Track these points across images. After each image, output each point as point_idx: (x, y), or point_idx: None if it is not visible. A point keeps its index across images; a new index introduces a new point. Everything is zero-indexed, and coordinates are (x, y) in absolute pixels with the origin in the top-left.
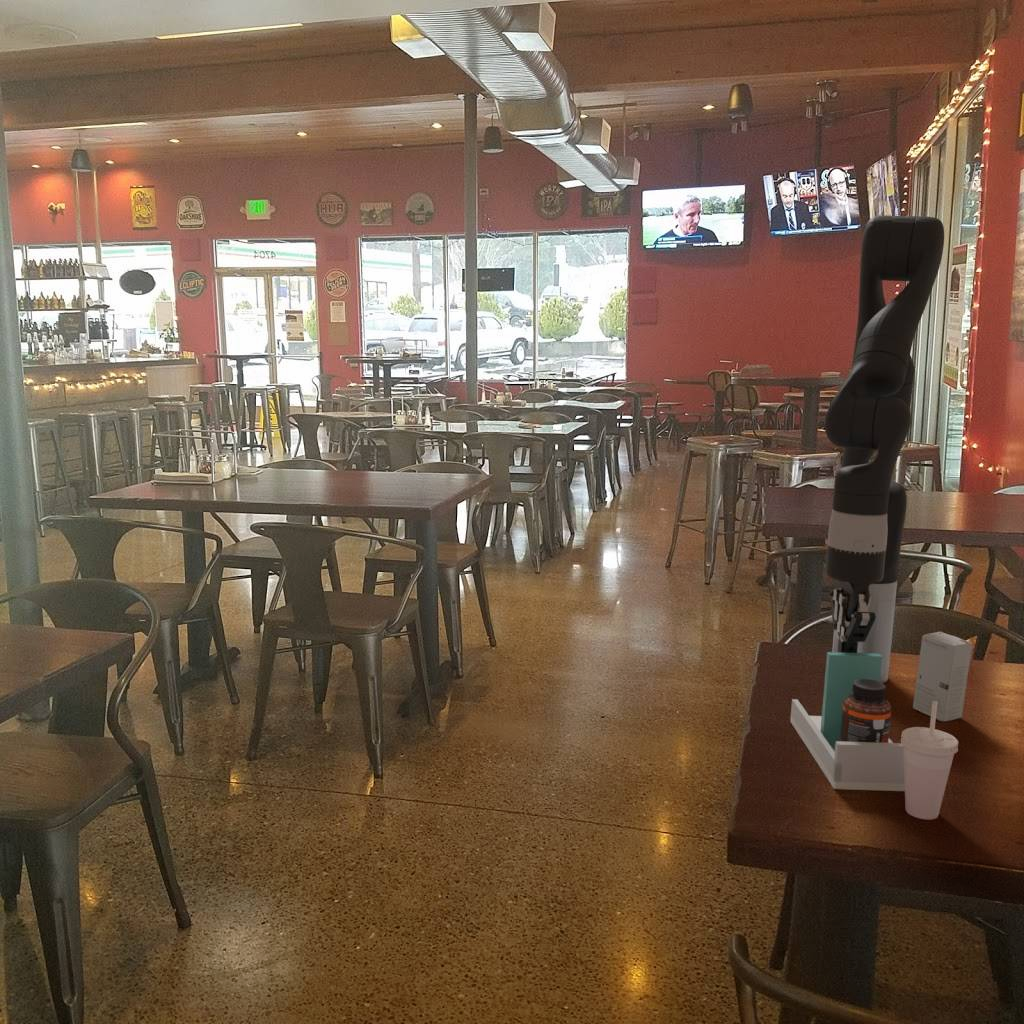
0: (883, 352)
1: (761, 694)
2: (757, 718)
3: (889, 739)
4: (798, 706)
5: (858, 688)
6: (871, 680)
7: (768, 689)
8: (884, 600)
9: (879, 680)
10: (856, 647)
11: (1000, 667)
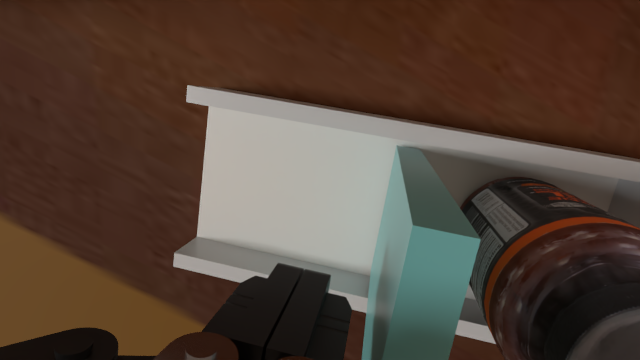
0: None
1: (49, 232)
2: (184, 305)
3: (484, 138)
4: (224, 275)
5: None
6: (607, 346)
7: (18, 202)
8: None
9: (448, 194)
10: (310, 341)
11: None
